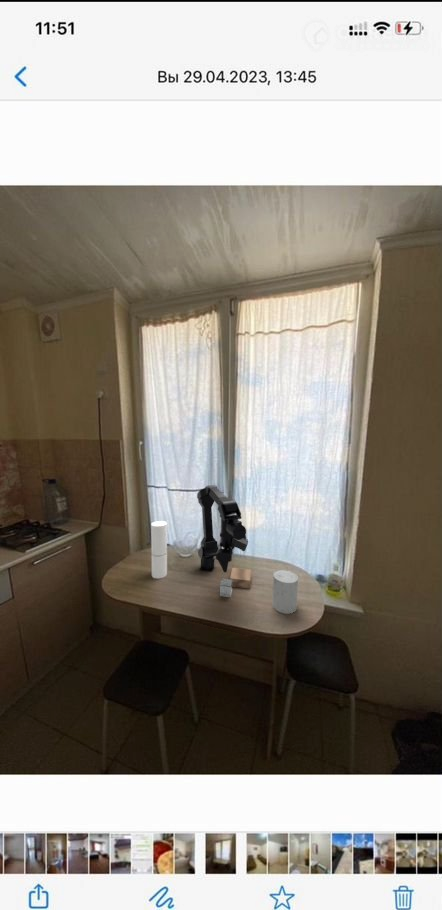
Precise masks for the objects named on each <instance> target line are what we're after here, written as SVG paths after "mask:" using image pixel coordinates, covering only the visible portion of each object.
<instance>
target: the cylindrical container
mask: <svg viewBox="0 0 442 910" xmlns="http://www.w3.org/2000/svg"><path fill="white" fill-rule="evenodd" d="M167 525H168V522H167V521H164V520H157V521H154V522H153V521H152V522H151V525H150V528H151V529H150V530H151V531H150V534H151V536H150V537H151V539H150V541H151V542H150V543H151V544H150V545H151V546H150V547H151V577H152V578H153V579H162V578H164V577H167V574H168V526H167Z"/></svg>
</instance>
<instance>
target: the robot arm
mask: <svg viewBox="0 0 442 910" xmlns="http://www.w3.org/2000/svg"><path fill="white" fill-rule="evenodd" d="M196 496H197V500H198V504H199V506H200V507H201V513H202V527H203V528H202V531H203V538H202V540H201V541H200V547H199V549H198V550H197V554H198V557H199V559H200V568H199V571H207V572H213V571H214V569H215V567H216V561H218V563H219V565H220V566H221V569H222V572H223V573H227V572H228V567H229V563H230V562H232V560H233V556H234V552H233V551H234V549H235V548H236V549H239V550H241V551H242V552H245V551H246V549H247V546H248V545H249V540H248V538H247V529H246V526H244V525H243V522H242V521H241V519H242V513H241V510H240V508H239V505H238V503H237V501H236V500H235V499H233V498H231V497H227V496H225V494H224V493H223V492H222V491H221V490H220V489H219V488H218V485H215V484H213V485H211V484H210V485H209V484H208V485H206V486H205V487H203V488H202V489H200V490H199V491H198V492H197V493H196ZM214 503H216V504H217V511H218V513H219V517H220V533H219V537H220V543H219V546H218V541H217V540H216V539H215V537H214V528H213V512H212V507H213V505H214ZM219 547H222V548H219Z"/></svg>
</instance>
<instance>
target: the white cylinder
mask: <svg viewBox="0 0 442 910" xmlns="http://www.w3.org/2000/svg"><path fill="white" fill-rule="evenodd" d="M272 576H273V580H272V602H271V603H272V607H273V608H274V609H275V610H276V611H278V613H281V614H284V615H288V614H289V615H290V613H291V614H293V612H294V613H295V612H297V610H298V609H297V608H298V588H299V584H298V582H299V575H298V574H296V572H294V571H292V570H289V569H284V568H281V569H279V568H278V569H276V570H275V571H273V573H272ZM296 609H297V610H296Z"/></svg>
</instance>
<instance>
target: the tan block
mask: <svg viewBox="0 0 442 910" xmlns="http://www.w3.org/2000/svg"><path fill="white" fill-rule="evenodd" d="M229 579H230V580H233V581H232V588H233V587H234V588H242V589H251V584H252V583H251V582H252V569H247V568H239V567H232V569H231V573H230V577H229Z"/></svg>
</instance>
